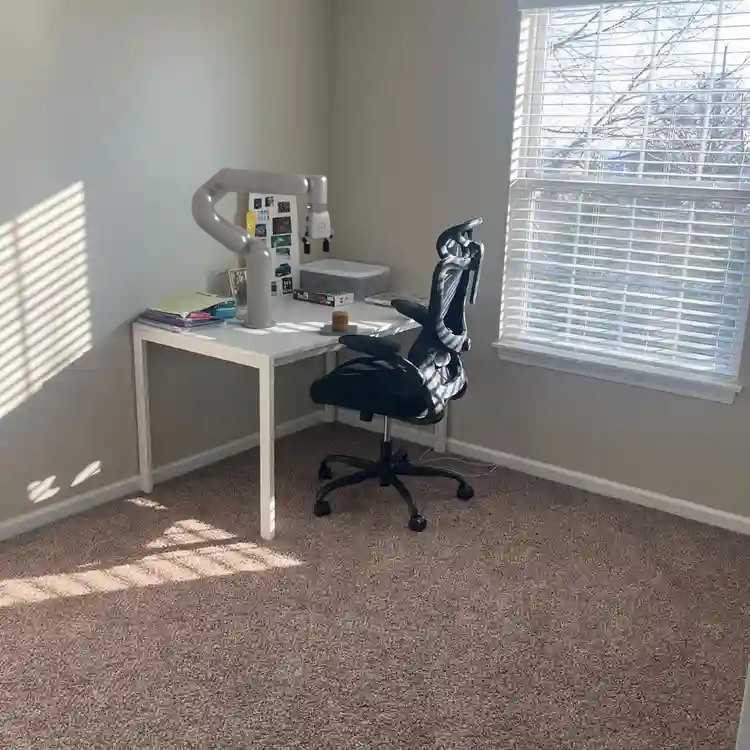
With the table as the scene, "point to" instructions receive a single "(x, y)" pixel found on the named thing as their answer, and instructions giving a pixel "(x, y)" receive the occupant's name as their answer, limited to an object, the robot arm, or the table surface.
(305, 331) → the table surface
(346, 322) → the wooden cylinder
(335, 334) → the shaft plate
